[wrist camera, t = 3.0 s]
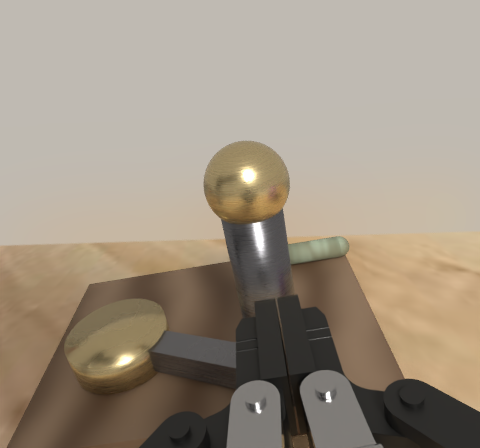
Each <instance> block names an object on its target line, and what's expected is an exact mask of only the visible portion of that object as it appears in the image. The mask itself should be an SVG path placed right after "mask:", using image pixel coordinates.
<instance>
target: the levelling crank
mask: <svg viewBox="0 0 480 448" xmlns="http://www.w3.org/2000/svg"><path fill="white" fill-rule="evenodd" d="M289 187H290V183H289V174H288V171H287V168H286V166H285V164H284V162H283V160H282V159H281V157H280V156H279V155H278V154H277V153H276V152H275V151H273V149H271V148H270V147H268V146H266V145H264V144H261V143H258V142H254V141H239V142H235V143H232V144H229V145H227V146H225V147H224V148H222V149H221V150H220V151H219V152H217V153H216V154H215V155H214V157H213V158H212V159H211V161H210V162H209V164H208V166H207V169H206V172H205V176H204V192H205V196H206V199H207V202H208V204H209V206H210V207H211V209H212V210H213V212H214V213H215V214H216V215H217V216H219V217H220V218H221V221H222V225H223V230H224V234H225V239H226V244H227V249H228V253H229V258H230V262H231V267H232V272H233V276H234V281H235V286H236V290H237V295H238V300H239V304H240V309H241V314H242V318H249V317H255V305H254V301H260V300H266V299H272V298H275V300H276V306H277V311H278V317H279V322H280V327H281V333H282V338H283V332H282V326H281V320H280V314H279V308H278V302H277V298H278V297H284V296H290V295H295V291H294V284H293V277H292V270H291V263H290V256H289V249H288V242H287V235H286V228H285V221H284V214H283V206H284V204H285V203H286V200H287V198H288V194H289ZM283 344H284V338H283ZM284 350H285V344H284ZM64 352H65V355H66V357H67V359H68V362H69V364H70V366H71V368H72V370H73V372H74V374H75V377H76V379H77V381H78V383H79V384H80V386H81V387H82V388H83V389H85V390H86V391H88V392H91V393H94V394H101V395H109V394H117V393H121V392H125V391H128V390H131V389H133V388H135V387H138V386H140V385H141V384H143V383H145V382H147V381H148V380H149V379H151V378H152V377H153V376H155V375H156V374H157V373H158V372H161V373H166V374H170V375H175V376H179V377H184V378H188V379H193V380H197V381H202V382H206V383H211V384H215V385H220V386H224V387H229V388H233V389H236V342H230V341H225V340H219V339H213V338H207V337H201V336H195V335H189V334H184V333H178V332H172V331H170V329H169V326H168V323H167V320H166V317H165V313H164V311H163V309H162V308H161V306H160V305H158V304H157V303H155V302H153V301H150V300H146V299H127V300H121V301H117V302H114V303H111V304H108V305H106V306H103V307H101V308H99V309H97V310H95V311H93V312H92V313H90V314H89V315H87V316H86V317H84V318H83V319H82V320H81V321H80V322H78V323H77V324H76V325H75V327H74V328H73V329H72V330H71V331H70V333H69V335H68V336H67V338H66V341H65V344H64ZM285 356H286V350H285ZM286 362H287V356H286ZM287 368H288V362H287ZM288 374H289V368H288ZM289 381H290V387H291V393H292V399H293V405H294V407H295V402H294V396H293V391H292V385H291V380H290V374H289Z"/></svg>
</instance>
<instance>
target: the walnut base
mask: <svg viewBox="0 0 480 448" xmlns="http://www.w3.org/2000/svg"><path fill="white" fill-rule="evenodd" d="M288 249H289V256H290V263H291V270H292V277H293V284H294V291H295V295H296V294H298V297H299V302H300V306H301V309H303V308H309V307H315V306H316V307H317V308H318V309H319V310H320V311H321V312H322V313H323V314H325V316H326V319H327V322H328V325H329V329H330V332H331V335H332V338H333V341H334V344H335V347H336V351H337V354H338V357H339V360H340V363H341V366H342V370H343V372H344V374H345V376H346V377H347V378H348V379H349V380H350V381H351V382H352V383H354V384H355V385H357V386H360V387H362V388H366V389H371V390H379V391H385V389H386V388H387V387H388V385H390V384H391V383H393V382H394V381H397V380H401V379H405V378H404V376H403V374H402V372H401V370H400V368H399V366H398V364H397V361H396V359H395V357H394V355H393V353H392V351H391V349H390V347H389V345H388V343H387V341H386V339H385V337H384V334H383V332H382V330H381V328H380V326H379V324H378V322H377V320H376V318H375V316H374V314H373V312H372V310H371V307H370V305H369V303H368V301H367V299H366V297H365V295H364V293H363V291H362V289H361V287H360V285H359V283H358V280H357V278H356V276H355V274H354V272H353V270H352V268H351V266H350V264H349V262H348V260H347V258H346V256H345V255H346V254H347V252H348V250H349V243H348V241H347V240H346V239H345V238H343V237H340V236H338V237H331V238H325V239H319V240H313V241H307V242H300V243H294V244H288ZM127 299H146V300H150V301H153V302H155V303H157V304H158V305H160V306H161V308H162V309H163V311H164V313H165V317H166V320H167V323H168V326H169V329H170V331H172V332H178V333H184V334H189V335H195V336H201V337H207V338H213V339H219V340H225V341H230V342H236V328H237V326H238V324H239V322H240V321H241V319H243V318H242V314H241V309H240V304H239V300H238V295H237V290H236V286H235V281H234V276H233V272H232V267H231V262H224V263H218V264H212V265H206V266H200V267H193V268H187V269H181V270H175V271H169V272H163V273H157V274H151V275H144V276H138V277H132V278H126V279H120V280H114V281H108V282H101V283H95V284H90V285H89V287H88V289H87V291H86V293H85V294H84V296H83V298H82V300H81V302H80V304H79V306H78V308H77V310H76V312H75V314H74V316H73V318H72V320H71V322H70V324H69V326H68V328H67V330H66V332H65V334H64V336H63V338H62V340H61V342H60V344H59V346H58V348H57V350H56V352H55V354H54V356H53V358H52V360H51V362H50V363H49V365H48V367H47V369H46V371H45V373H44V375H43V377H42V379H41V381H40V383H39V385H38V387H37V389H36V391H35V393H34V395H33V397H32V399H31V401H30V403H29V405H28V407H27V409H26V411H25V413H24V415H23V417H22V419H21V421H20V423H19V425H18V427H17V429H16V431H15V433H14V434H13V436H12V438H11V440H10V442H9V444H8V446H7V448H139V447H140V446H141V445H142V444H143V443H144V442H145V441H146V440H147V438H148V437H149V436H150V435H151V434H152V433H153V432H154V431H155V430H156V429H157V428H158V427H159V426H160V425H161V424H162V423H163V422H164V421H165V420H166V419H167V418H168V417H170V416H172V415H174V414H176V413H179V412H184V411H191V412H195V413H197V414H199V415H200V416H201V417H202V418H203V419H205V418H207V417H209V416H211V415H213V414H216V413H218V412H219V411H221V410H223V409H224V408H225V407H226V406H228V405H229V403H230V402H231V398H232V396H233V394H234V392H235V391H236V389H233V388H229V387H224V386H220V385H215V384H211V383H206V382H202V381H197V380H193V379H188V378H184V377H179V376H175V375H170V374H166V373H161V372H158V373H157V374H156V375H155V376H153V377H152V378H151V379H149V380H148V381H147V382H145V383H143V384H141V385H140V386H138V387H135V388H133V389H131V390H128V391H125V392H121V393H117V394H109V395H101V394H94V393H91V392H88V391H86V390H85V389H83V388H82V387H81V386H80V384H79V383H78V381H77V379H76V377H75V374H74V372H73V370H72V368H71V366H70V364H69V362H68V359H67V357H66V355H65V352H64V344H65V341H66V338H67V336H68V335H69V333H70V331H71V330H72V329H73V328H74V327H75V325H76V324H77V323H78V322H80V321H81V320H82V319H83V318H84V317H86V316H87V315H89V314H90V313H92V312H93V311H95V310H97V309H99V308H101V307H103V306H106V305H108V304H111V303H114V302H117V301H121V300H127ZM294 412H295V418H296V424H297V430H298V435H300V429H299V423H298V418H297V412H296V407H294ZM305 434H307V433H305ZM292 436H293V435H292Z"/></svg>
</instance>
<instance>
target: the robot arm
mask: <svg viewBox="0 0 480 448" xmlns="http://www.w3.org/2000/svg"><path fill="white" fill-rule="evenodd" d="M277 302H278V308H279V314H280V320H281V326H282V332H283V338H284V344H285V350H286V356H287V362H288V368H289V374H290V380H291V385H292V391H293V396H294V402H295V407H296V412H297V418H298V423H299V429H300V434H305V433H307V435H308V441H309V446H310V448H480V412H479V411H477V410H475V409H473V408H471V407H469V406H468V405H466V404H464V403H462V402H460V401H458V400H456V399H455V398H453V397H451V396H449V395H447V394H445V393H443V392H442V391H440V390H438V389H436V388H434V387H432V386H430V385H429V384H427V383H424V382H422V381H419V380H415V379H401V380H397V381H394V382H393V383H391V384H390V385H388V387H387V388H386V389H385V391H379V390H371V389H366V388H362V387H360V386H357V385H355V384H354V383H352V382H351V381H350V380H349V379H348V378H347V377H346V376H345V374H344V372H343V370H342V366H341V363H340V360H339V357H338V354H337V351H336V347H335V344H334V341H333V338H332V335H331V332H330V329H329V325H328V322H327V319H326V316H325V314H323V313H322V312H321V311H320V310H319V309H318V308H317V307H316V306H315V307H309V308H303V309H301V306H300V302H299V297H298V294H296V295H290V296H284V297H278V298H277ZM254 305H255V317H249V318H243V319H241V321H240V322H239V324H238V326H237V328H236V391H235V392H234V394H233V396H232V398H231V402H230V403H229V405H228V406H226V407H225V408H224V409H223V410H221V411H219V412H218V413H216V414H213V415H211V416H209V417H207V418H205V419H203V418H202V417H201V416H200V415H199V414H197V413H195V412H191V411H184V412H179V413H176V414H174V415H172V416H170V417H168V418H167V419H166V420H165V421H164V422H163V423H162V424H161V425H160V426H159V427H158V428H157V429H156V430H155V431H154V432H153V433H152V434H151V435H150V436H149V437H148V438H147V440H146V441H145V442H144V443H143V444H142V445H141V446H140V447H139V448H293V444H292V437H291V436H292V435H298V430H297V424H296V418H295V412H294V405H293V399H292V393H291V387H290V381H289V374H288V368H287V362H286V356H285V350H284V344H283V338H282V333H281V327H280V322H279V317H278V311H277V306H276V300H275V298H272V299H266V300H260V301H254Z"/></svg>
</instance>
